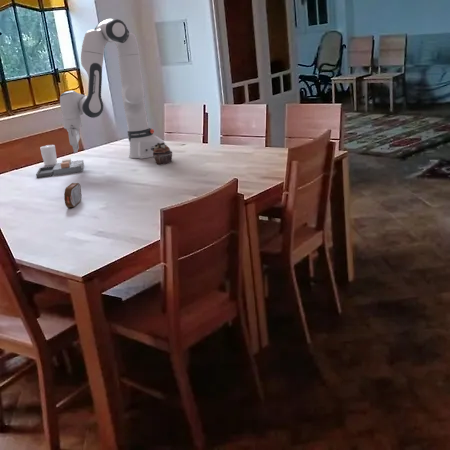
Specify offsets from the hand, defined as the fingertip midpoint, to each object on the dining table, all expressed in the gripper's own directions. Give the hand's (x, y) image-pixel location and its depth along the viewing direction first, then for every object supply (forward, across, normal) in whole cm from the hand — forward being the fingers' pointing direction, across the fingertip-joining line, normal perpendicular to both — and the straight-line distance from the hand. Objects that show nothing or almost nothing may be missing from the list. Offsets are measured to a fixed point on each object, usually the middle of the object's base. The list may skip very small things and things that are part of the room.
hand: (76, 151), depth 327 cm
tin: (+10, -73, -3) cm, 73 cm away
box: (+10, 0, +17) cm, 19 cm away
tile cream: (+7, +4, +6) cm, 10 cm away
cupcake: (+8, -14, -43) cm, 46 cm away
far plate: (+10, 0, +5) cm, 11 cm away
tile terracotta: (+7, -4, +6) cm, 10 cm away
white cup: (+10, +25, +17) cm, 32 cm away
